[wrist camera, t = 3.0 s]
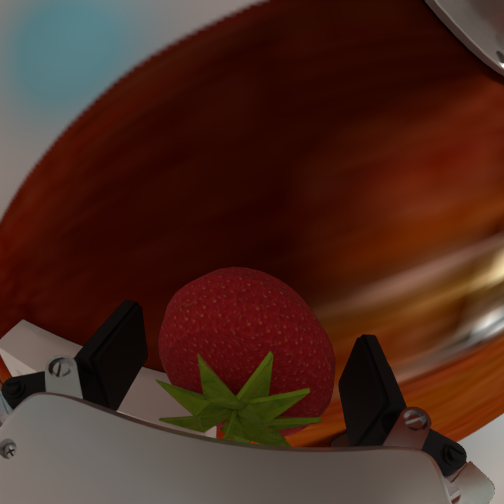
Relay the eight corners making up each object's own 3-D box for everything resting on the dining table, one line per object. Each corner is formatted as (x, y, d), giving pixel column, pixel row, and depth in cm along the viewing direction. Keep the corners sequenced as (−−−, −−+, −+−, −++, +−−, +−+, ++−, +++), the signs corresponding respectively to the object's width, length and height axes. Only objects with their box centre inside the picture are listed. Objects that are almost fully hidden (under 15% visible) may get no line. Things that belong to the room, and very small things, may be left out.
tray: (22, 319, 18) (-5, 344, 14) (218, 384, 17) (204, 436, 13) (78, 429, 26) (66, 451, 22) (215, 476, 25) (208, 504, 21)
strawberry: (252, 358, 16) (226, 510, 7) (176, 261, 14) (62, 405, 5) (340, 319, 15) (378, 487, 5) (272, 202, 13) (248, 354, 3)
